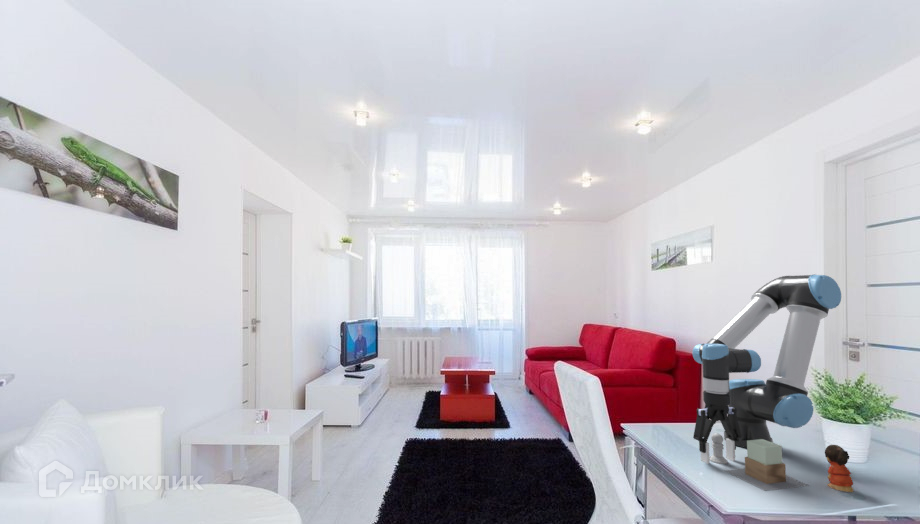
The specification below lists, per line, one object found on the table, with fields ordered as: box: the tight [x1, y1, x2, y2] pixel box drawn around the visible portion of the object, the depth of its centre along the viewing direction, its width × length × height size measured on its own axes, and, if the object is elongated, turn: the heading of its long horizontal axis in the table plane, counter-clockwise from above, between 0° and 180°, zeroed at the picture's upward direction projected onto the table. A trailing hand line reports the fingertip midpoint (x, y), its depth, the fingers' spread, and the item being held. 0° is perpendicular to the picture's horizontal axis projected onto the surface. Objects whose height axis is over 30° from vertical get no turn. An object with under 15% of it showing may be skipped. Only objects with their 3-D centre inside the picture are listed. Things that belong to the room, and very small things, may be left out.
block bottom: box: [744, 456, 787, 484], centre depth 129 cm, size 7×7×5 cm
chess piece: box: [709, 432, 729, 465], centre depth 141 cm, size 5×5×9 cm
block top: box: [746, 439, 783, 465], centre depth 129 cm, size 6×6×5 cm
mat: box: [723, 467, 811, 492], centre depth 128 cm, size 16×14×1 cm
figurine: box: [824, 444, 855, 493], centre depth 123 cm, size 6×6×12 cm
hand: (718, 461), depth 141 cm, fingers open, 9 cm apart
